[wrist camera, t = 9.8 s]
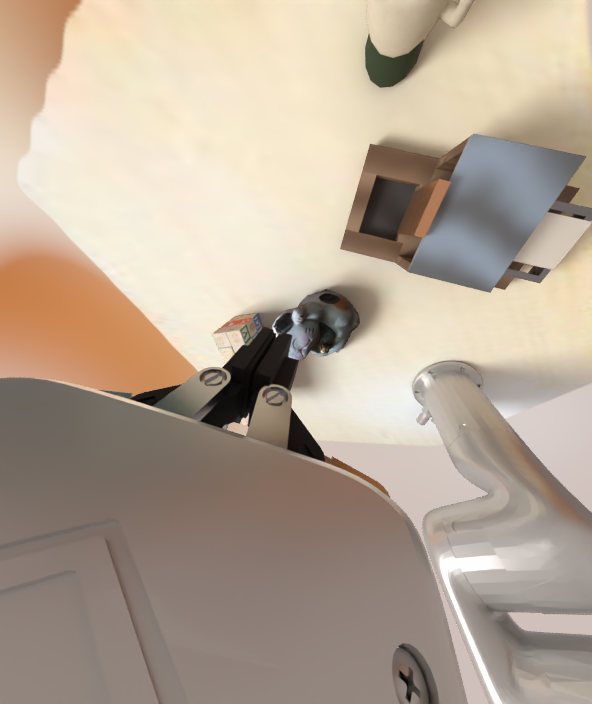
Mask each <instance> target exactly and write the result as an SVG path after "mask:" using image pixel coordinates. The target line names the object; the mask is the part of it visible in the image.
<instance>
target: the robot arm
mask: <svg viewBox="0 0 592 704" xmlns="http://www.w3.org/2000/svg"><path fill="white" fill-rule="evenodd" d="M291 341H292V335H291V334H287V333H282V335H281V334H278V336H277V337H276V333H274V330H273V329H269V328H266V327H263V328H262V330H261V331H260V332H259V333H258V334H257V336H256V337H255V338H254V339H253V340H252V342H251V343H250V344H249V345H242V346H241V347H240V348H239V349H238V351H237V352H236V353H235V354H234V355H233V356H232V357H231V359H230V360H229V361H228V362H227V363H226V364H225V365H224V366H223V368H220V367H209V368H205V369H203V370H201V371H199V372H198V373H197V374H195V375H194V376H193V377H191V378H190V379H189V380H187V381H186V382H185V383H183V384H181V385H177V386H172V387H167V388H163V389H158V390H154V391H149V392H144V393H141V394H138V395H136V396H133V394H132V393H122V392H113V391H103V390H96V389H93V388H90V387H86V386H81V385H78V384H74V383H70V382H65V381H59V380H53V379H45V378H35V377H7V378H0V704H468V703H467V699H466V694H465V690H464V686H463V682H462V678H461V673H460V669H459V665H458V661H457V658H456V654H455V650H454V646H453V643H452V638H451V634H450V630H449V626H448V622H447V618H446V614H445V611H444V607H443V603H442V600H441V597H440V593H439V590H438V586H437V583H436V579H435V576H434V573H433V570H432V567H431V564H430V560H429V558H428V555H427V553H426V549H425V547H424V544H423V542H422V540H421V537H420V535H419V533H418V531H417V529H416V528H415V526H414V524H413V523H412V521H411V520H410V518H409V517H408V516H407V514H406V513H405V512H404V511H403V510H402V509H401V508H400V507H399V506H398V505H397V504H396V503H395V502H394V501H393V500H392V499H390V496H389V494H388V492H387V491H386V490H385V488H384V487H383V486H382V485H381V484H380V483H378V482H377V481H375V480H373V479H372V478H370V477H368V476H366V475H365V474H363V473H361V472H359V471H357V470H356V469H354V468H352V467H350V466H348V465H347V464H345V463H343V462H341V461H339V460H338V459H336V458H334V457H332V458H331V459H330V458H329V457H327V456H325V455H324V453H323V451H322V450H321V448H320V446H319V445H318V444H317V442H316V441H315V439H314V438H313V437H312V435H311V434H310V433H309V431H308V430H307V428H306V427H305V426H304V424H303V423H302V422H301V420H300V419H299V418H298V416H297V415H296V413H295V412H294V411H293V409H292V408H291V404H292V395H291V393H290V390H291V387H292V384H293V380H294V377H295V374H296V370H297V366H298V362H299V360H296V359H293V358H289V357H288V354H289V350H290V345H291ZM482 385H483V382H482V378H481V376H480V374H479V373H478V372H477V371H476V370H475V369H474V368H473V367H472V366H470V365H468V364H465V363H462V362H456V361H447V362H441V363H437V364H434V365H432V366H429V367H427V368H426V369H424V370H423V371H421V372H420V373H419V374H418V375H417V377H416V378H415V380H414V382H413V385H412V391H413V395H414V397H415V399H416V400H417V401H418V402H419V403H420V404H421V405H422V406H423V409H422V411H423V412H422V413H421V414H420V415H419V416H418V418H417V419H416V421H417V422H418V423H419V424H420V425H425V424H426V422H427V421H428V420H429V418H430V417H432V419H431V421H432V422H433V423H434V424H435V425H436V427H437V429H438V431H439V434H440V436H441V438H442V440H443V442H444V445H445V447H446V449H447V451H448V453H449V456H450V458H451V460H452V462H453V464H454V466H455V467H456V469H457V470H458V471H459V473H460V474H461V475H462V476H463V477H464V478H466V479H467V480H468V481H469V482H471V483H472V484H474V485H475V486H477V487H479V488H480V489H482V490H484V491H485V492H487V493H488V494H487V495H486V496H482V497H479V498H476V499H473V500H469V501H465V502H460V503H456V504H451V505H447V506H444V507H440V508H436V509H433V510H431V511H429V512H428V513H427V514H426V515H425V517H424V519H423V524H422V525H423V527H422V528H423V536H424V540H425V544H426V547H427V550H428V553H429V556H430V559H431V561H432V564H433V567H434V569H435V572H436V574H437V577H438V579H439V582H440V584H441V587H442V589H443V592H444V594H445V597H446V599H447V602H448V604H449V606H450V609H451V611H452V614H453V616H454V619H455V621H456V624H457V626H458V629H459V631H460V634H461V636H462V639H463V641H464V643H465V646H466V649H467V651H468V654H469V656H470V659H471V661H472V663H473V666H474V668H475V671H476V673H477V676H478V678H479V681H480V683H481V686H482V688H483V690H484V693H485V695H486V698H487V700H488V702H489V704H592V635H581V634H563V633H544V632H531V631H525V630H523V629H521V628H520V627H519V626H518V625H517V624H516V623H515V622H514V621H513V619H512V618H511V617H510V615H509V614H508V612H530V613H543V614H577V615H592V513H591V512H590V511H589V510H588V509H587V508H586V507H585V506H584V505H583V504H582V503H581V502H580V501H579V500H578V499H577V498H576V497H574V496H573V495H572V494H571V493H570V492H569V491H568V490H567V489H566V488H565V487H564V486H563V485H562V484H561V483H560V482H559V481H558V480H557V479H556V478H555V477H554V476H553V475H552V473H550V471H549V470H548V469H547V468H546V467H545V466H544V465H543V463H542V462H541V461H540V460H539V459H538V458H537V457H536V455H535V454H534V453H533V452H532V451H531V450H530V448H529V447H528V446H527V445H526V444H525V442H524V441H523V440H522V439H521V438H520V437H519V436H518V434H517V433H516V432H515V431H514V430H513V429H512V427H511V426H510V425H509V423H508V422H507V421H506V420H505V419H504V417H503V416H502V415H501V414H500V413H499V411H498V410H497V409H496V408H495V407H494V405H493V404H492V403H491V402H490V401H489V399H488V398H487V397H486V396H485V394H484V393H483V392H482V391H481V390H482ZM248 414H249V419H248V427H249V428H248V432H247V435H246V436H244V435H241V434H238V433H234V432H231V431H228V430H227V428H228V425H229V424H230V423H232V422H236V423H240V422H241V420H242V418H247V416H248ZM397 647H399V648H397Z"/></svg>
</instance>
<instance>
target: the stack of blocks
mask: <svg viewBox="0 0 592 704" xmlns="http://www.w3.org/2000/svg"><path fill="white" fill-rule="evenodd" d="M262 328H263V327H262V324H261V321H260V317H259V314H258V313H255V314H248V315H241V316H236V317H233V318H232V319H231V320H230V321H228V322H227V323H226V324H224V325H223V326H222V327H221V328H219V329H218V330H217V331H215V332H214V333H213V334H212V336H213V338H214V340H215V342H216V345H217V347H218V350H219V352H220V354H221V356H222V359H223V360H224V363H225V364H226V363H227V362H228V361H229V360H230V359H231V357H232V356H233V355H234V354H235V353H236V352H237V351H238V349H239V348H240V347H241V346H242V345H249V344H250V343H251V342H252V340H253V339H254V338H255V337H256V336H257V334H258V333H259V332H260V331H261V330H262ZM248 419H249V414H248V416H247V418H242V420H241V423H242V424H243V425H248Z"/></svg>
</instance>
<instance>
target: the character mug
mask: <svg viewBox="0 0 592 704" xmlns="http://www.w3.org/2000/svg"><path fill="white" fill-rule="evenodd" d="M459 1H460V2H459V4H458V5H457V4H456V3H455V2H454V1H452V0H367V4H366V20H367V25H368V29H369V35H368V39H367V43H366V48H365V57H366V69H367V72H368V74H369V77H370V79H371V81H372V82H374V83H375V84H376V85H378V86H379V87H380V88H381V87H391V86H394V85H395V84H397V83H398V82H400V81H401V80H402V79H404V78H405V77H406V76H407V74H408V73H409V72H410V70H411V69H412V68H413V66H414V65H415V63H416V62H417V59H418V56H419V53H420V50H421V48H422V45H423V42H424V39H425V38H426V37H427V35H428V34H429V32H430V31H431V29H432V28H433V26H434V25H435V23H436V22H437V21H438V19H439V18H440V19H441V20H443V21H444V22H445V23H446V24H448V25H449V26H450V27H453V28H455V27H456V26H458V25H459V24H460V23H461V22H462V21H463V19H464V17H465V15H466V13H467V12H468V10H469V8H470V6H471V5H472V3H473V1H474V0H459Z"/></svg>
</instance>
